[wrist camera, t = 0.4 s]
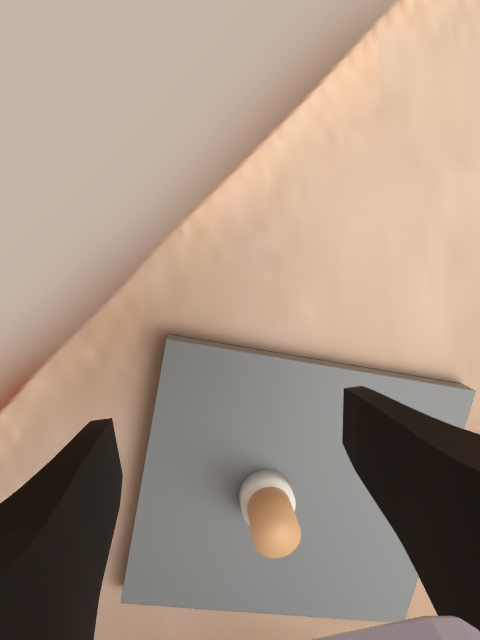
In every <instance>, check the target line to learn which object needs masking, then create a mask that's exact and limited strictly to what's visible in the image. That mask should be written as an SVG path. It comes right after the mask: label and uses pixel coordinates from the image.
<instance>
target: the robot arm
mask: <svg viewBox="0 0 480 640" xmlns="http://www.w3.org/2000/svg"><path fill="white" fill-rule="evenodd" d="M342 444H343V446H344V448H345V450H346V452H347V455H348V457H349V459H350V461H351V463H352V465H353V467H354V469H355V471H356V473H357V474H358V476H359V478H360V479H361V481H362V482H363V484H364V485H365V487H366V488H367V490H368V492H369V493H370V495H371V496H372V498H373V499H374V501H375V502H376V504H377V505H378V507H379V508H380V510H381V511H382V513H383V515H384V516H385V518H386V519H387V521H388V522H389V524H390V525H391V527H392V528H393V530H394V531H395V533H396V535H397V537H398V538H399V540H400V542H401V543H402V545H403V547H404V549H405V551H406V553H407V554H408V556H409V558H410V560H411V562H412V564H413V566H414V568H415V570H416V572H417V574H418V576H419V578H420V580H421V582H422V584H423V586H424V588H425V590H426V592H427V594H428V596H429V598H430V600H431V602H432V604H433V606H434V608H435V610H436V612H437V614H438V616H422V617H417V618H413V619H408V620H403V621H398V622H393V623H389V624H384V625H379V626H374V627H370V628H365V629H360V630H355V631H350V632H346V633H341V634H336V635H331V636H326V637H322V638H317V639H312V640H480V435H479V434H476V433H473V432H470V431H467V430H464V429H461V428H459V427H456V426H453V425H451V424H448V423H446V422H443V421H441V420H438V419H436V418H433V417H431V416H429V415H426V414H424V413H422V412H419V411H417V410H415V409H413V408H411V407H408V406H406V405H404V404H402V403H400V402H398V401H396V400H393V399H391V398H389V397H387V396H385V395H383V394H381V393H378V392H376V391H374V390H372V389H369V388H367V387H364V386H357V387H349V388H344V395H343V433H342ZM122 476H123V475H122V469H121V464H120V459H119V453H118V448H117V443H116V437H115V432H114V426H113V421H112V418H110V419H102V420H95V421H90V422H89V423H88V424H87V425H86V426H85V427H84V428H83V429H82V430H81V431H80V432H79V433H78V434H77V435H76V436H75V437H74V438H73V439H72V440H71V441H70V442H69V443H68V444H67V445H66V446H65V447H64V448H63V449H62V450H61V451H60V452H59V453H58V454H57V455H56V456H55V457H54V458H53V459H52V460H51V461H50V462H49V463H48V464H47V465H45V466H44V467H43V468H42V469H41V470H40V471H39V472H38V473H37V474H35V475H34V476H33V477H32V478H31V479H30V480H29V481H28V482H27V483H25V484H24V485H23V486H22V487H21V488H20V489H18V490H17V491H16V492H15V493H13V494H12V495H11V496H10V497H8V498H7V499H6V500H4V501H3V502H2V503H0V640H93V639H94V631H95V624H96V616H97V609H98V602H99V596H100V591H101V586H102V581H103V577H104V572H105V568H106V564H107V559H108V555H109V551H110V547H111V542H112V538H113V534H114V529H115V525H116V521H117V516H118V512H119V507H120V498H121V487H122Z"/></svg>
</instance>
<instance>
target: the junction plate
mask: <svg viewBox="0 0 480 640" xmlns="http://www.w3.org/2000/svg"><path fill="white" fill-rule="evenodd" d="M357 386H364V387H367V388H369V389H372V390H374V391H376V392H378V393H381V394H383V395H385V396H387V397H389V398H391V399H393V400H396V401H398V402H400V403H402V404H404V405H406V406H408V407H411V408H413V409H415V410H417V411H419V412H422V413H424V414H426V415H429V416H431V417H433V418H436V419H438V420H441V421H443V422H446V423H448V424H451V425H453V426H456V427H459V428H461V429H464V428H465V424H466V421H467V418H468V415H469V411H470V408H471V405H472V402H473V399H474V395H475V392H476V391H475V390H473V389H471V388H469V387H467V386H465V385H463V384H459V383H453V382H448V381H442V380H436V379H430V378H424V377H418V376H412V375H406V374H400V373H394V372H388V371H383V370H377V369H371V368H365V367H359V366H353V365H347V364H341V363H335V362H329V361H324V360H318V359H312V358H306V357H300V356H294V355H288V354H282V353H276V352H270V351H264V350H259V349H253V348H247V347H241V346H235V345H229V344H223V343H217V342H211V341H205V340H199V339H194V338H188V337H182V336H176V335H170V334H168V335H167V339H166V344H165V350H164V356H163V361H162V367H161V373H160V379H159V384H158V390H157V396H156V402H155V407H154V413H153V419H152V425H151V430H150V436H149V442H148V448H147V453H146V459H145V465H144V471H143V476H142V482H141V488H140V494H139V499H138V505H137V511H136V517H135V522H134V528H133V534H132V540H131V545H130V551H129V557H128V563H127V568H126V574H125V580H124V586H123V591H122V597H121V603H125V604H139V605H153V606H167V607H181V608H195V609H209V610H223V611H237V612H251V613H265V614H278V615H292V616H306V617H320V618H334V619H348V620H362V621H376V622H390V623H393V622H398V621H403V620H405V618H406V615H407V611H408V608H409V605H410V602H411V599H412V595H413V592H414V589H415V586H416V582H417V579H418V574H417V572H416V570H415V568H414V566H413V564H412V562H411V560H410V558H409V556H408V554H407V553H406V551H405V549H404V547H403V545H402V543H401V542H400V540H399V538H398V537H397V535H396V533H395V531H394V530H393V528H392V527H391V525H390V524H389V522H388V521H387V519H386V518H385V516H384V515H383V513H382V511H381V510H380V508H379V507H378V505H377V504H376V502H375V501H374V499H373V498H372V496H371V495H370V493H369V492H368V490H367V488H366V487H365V485H364V484H363V482H362V481H361V479H360V478H359V476H358V474H357V473H356V471H355V469H354V467H353V465H352V463H351V461H350V459H349V457H348V455H347V452H346V450H345V448H344V446H343V444H342V433H343V395H344V388H349V387H357Z"/></svg>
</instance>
